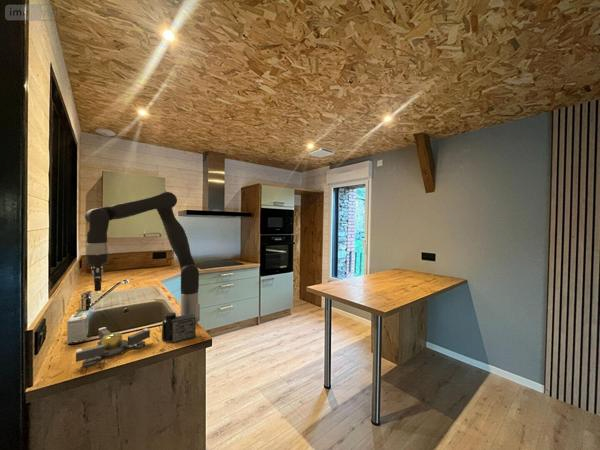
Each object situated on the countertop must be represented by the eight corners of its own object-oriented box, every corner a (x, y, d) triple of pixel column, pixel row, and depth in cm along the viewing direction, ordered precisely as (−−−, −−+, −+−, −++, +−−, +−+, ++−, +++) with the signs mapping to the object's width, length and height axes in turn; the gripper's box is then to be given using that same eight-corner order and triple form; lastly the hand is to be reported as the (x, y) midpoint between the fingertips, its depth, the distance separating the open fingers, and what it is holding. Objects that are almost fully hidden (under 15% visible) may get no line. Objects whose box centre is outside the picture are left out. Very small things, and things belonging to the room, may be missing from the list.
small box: (193, 333, 126) (193, 312, 126) (196, 338, 121) (196, 316, 121) (170, 338, 120) (170, 316, 120) (171, 343, 115) (172, 321, 115)
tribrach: (121, 335, 123) (121, 321, 123) (147, 345, 113) (147, 330, 113) (64, 356, 103) (64, 340, 103) (90, 370, 93) (90, 352, 93)
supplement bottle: (173, 341, 116) (173, 316, 116) (159, 341, 116) (159, 316, 116) (180, 335, 123) (180, 311, 123) (166, 335, 123) (166, 311, 123)
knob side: (111, 342, 112) (111, 331, 112) (104, 344, 110) (104, 333, 110) (104, 337, 117) (105, 326, 117) (98, 339, 115) (98, 328, 115)
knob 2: (131, 347, 108) (131, 336, 108) (127, 346, 109) (127, 335, 109) (149, 339, 116) (149, 329, 116) (146, 338, 117) (146, 328, 116)
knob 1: (104, 354, 102) (104, 343, 102) (104, 357, 100) (104, 345, 100) (76, 362, 96) (76, 349, 96) (75, 365, 94) (75, 352, 94)
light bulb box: (71, 335, 122) (71, 314, 122) (88, 332, 126) (88, 311, 126) (66, 344, 113) (66, 321, 113) (85, 340, 117) (85, 318, 117)
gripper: (86, 252, 113) (86, 287, 113) (85, 255, 102) (86, 294, 102) (107, 250, 117) (107, 284, 118) (108, 253, 107) (109, 290, 107)
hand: (97, 288), depth 110 cm, fingers open, 8 cm apart
